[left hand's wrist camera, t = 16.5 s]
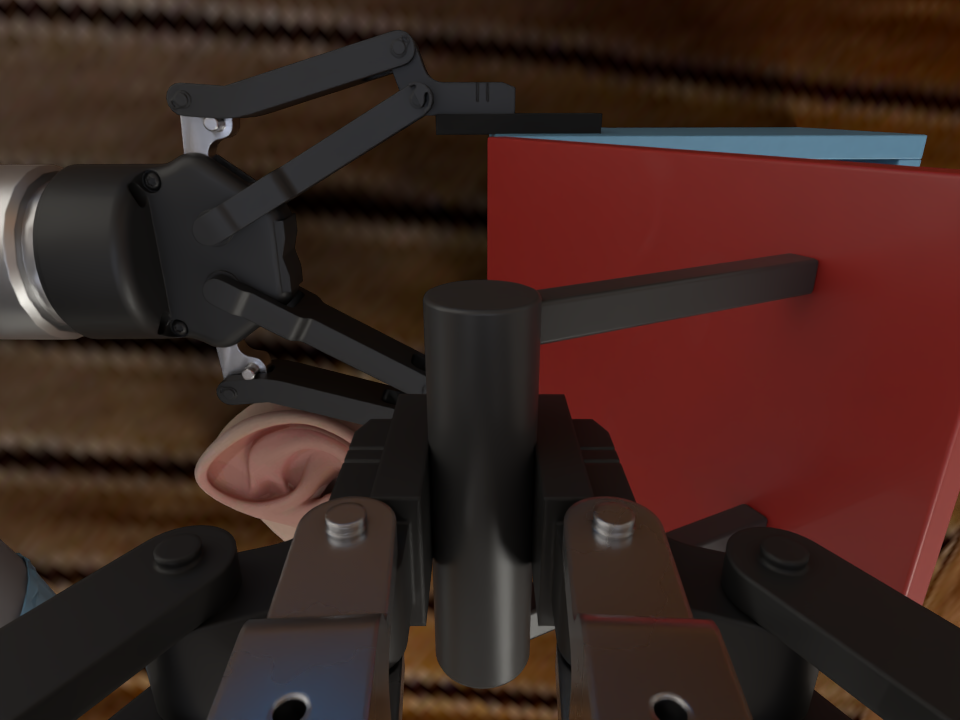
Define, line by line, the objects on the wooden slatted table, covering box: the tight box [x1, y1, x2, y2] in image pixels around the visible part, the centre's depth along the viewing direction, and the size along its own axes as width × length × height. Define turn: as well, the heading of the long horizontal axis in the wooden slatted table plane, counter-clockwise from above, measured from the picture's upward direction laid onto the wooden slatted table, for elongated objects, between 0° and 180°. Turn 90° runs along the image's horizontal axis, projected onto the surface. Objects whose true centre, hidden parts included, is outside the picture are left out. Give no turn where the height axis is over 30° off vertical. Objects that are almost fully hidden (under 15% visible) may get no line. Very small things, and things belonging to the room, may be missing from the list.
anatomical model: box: [195, 402, 363, 541], centre depth 38 cm, size 13×4×12 cm
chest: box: [489, 127, 927, 167], centre depth 30 cm, size 16×10×10 cm, turn 90°
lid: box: [423, 136, 960, 689], centre depth 16 cm, size 16×10×9 cm
